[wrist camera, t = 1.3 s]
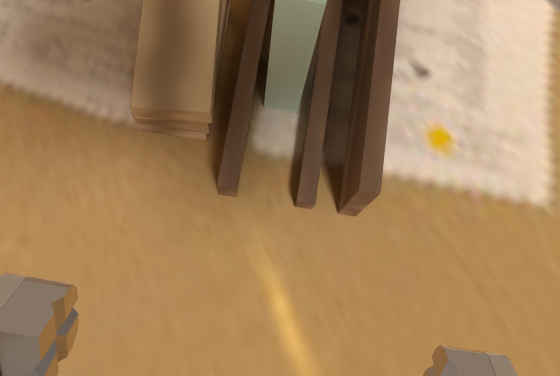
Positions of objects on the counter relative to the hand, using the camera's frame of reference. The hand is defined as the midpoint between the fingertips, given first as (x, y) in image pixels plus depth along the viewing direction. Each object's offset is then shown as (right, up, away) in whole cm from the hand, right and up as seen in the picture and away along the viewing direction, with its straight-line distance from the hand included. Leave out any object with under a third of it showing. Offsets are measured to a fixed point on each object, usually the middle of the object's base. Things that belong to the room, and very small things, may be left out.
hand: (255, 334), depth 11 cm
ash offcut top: (-8, +15, +30) cm, 35 cm away
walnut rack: (+3, +12, +34) cm, 37 cm away
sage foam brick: (+1, +13, +34) cm, 36 cm away
